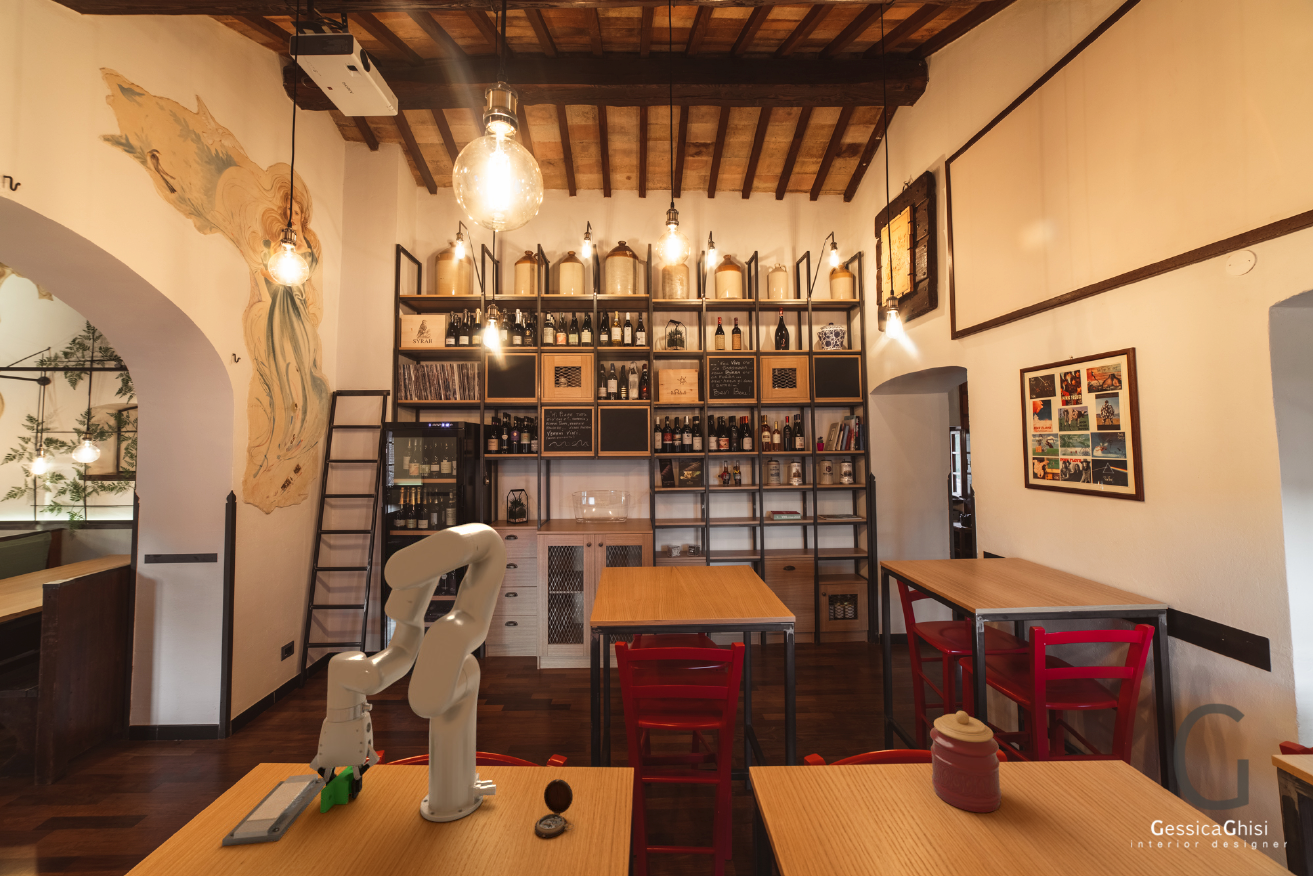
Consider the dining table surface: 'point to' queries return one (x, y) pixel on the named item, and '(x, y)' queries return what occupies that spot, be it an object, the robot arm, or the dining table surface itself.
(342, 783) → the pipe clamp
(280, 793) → the grey framed panel
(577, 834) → the dining table surface
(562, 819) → the compass
